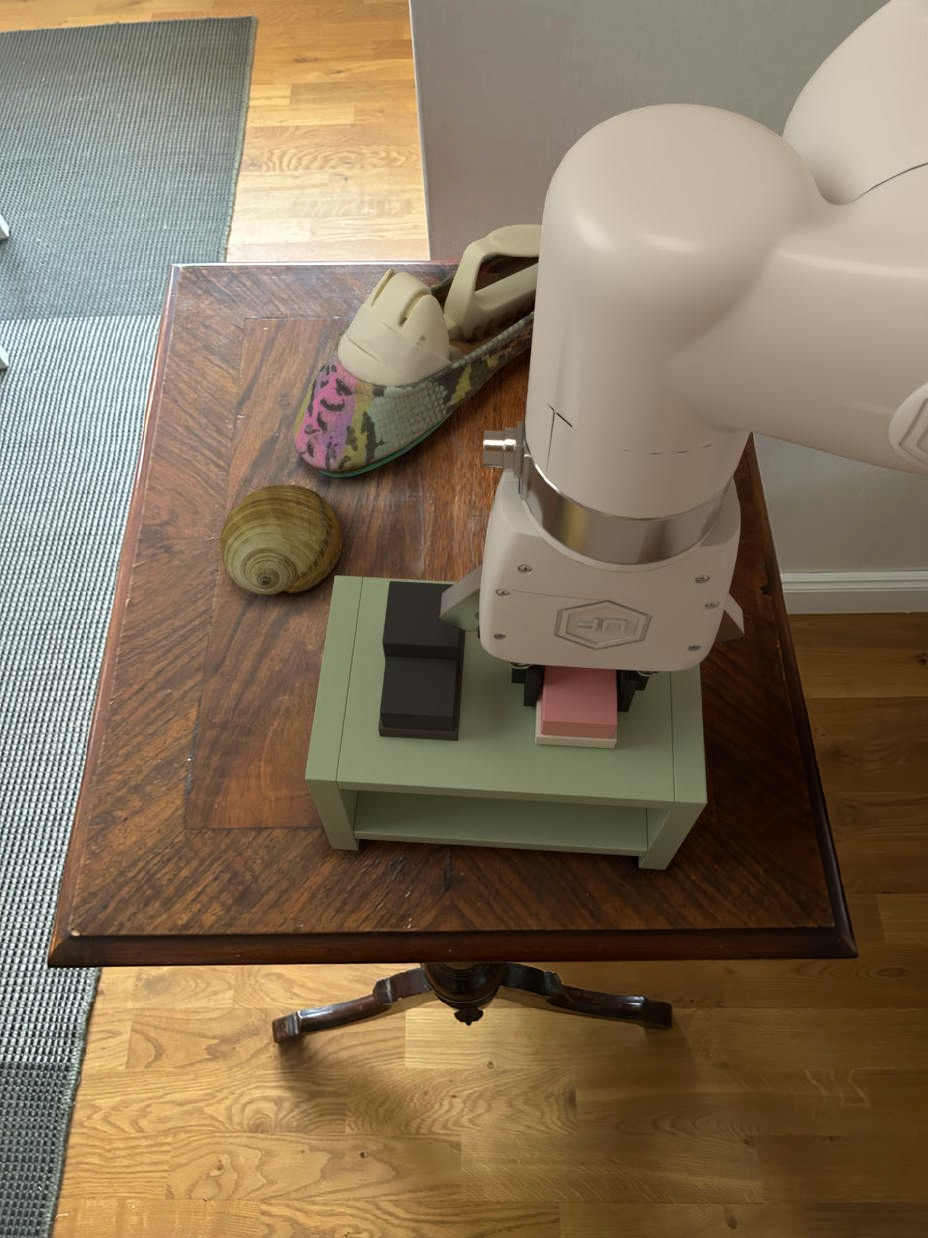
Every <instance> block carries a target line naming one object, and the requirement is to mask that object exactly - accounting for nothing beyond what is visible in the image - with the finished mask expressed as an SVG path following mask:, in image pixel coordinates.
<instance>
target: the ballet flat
mask: <svg viewBox="0 0 928 1238" xmlns="http://www.w3.org/2000/svg"><path fill="white" fill-rule="evenodd" d="M541 227H542V221H540V222H539V223H537V224H533V223H532V224H531V223H527V224H525V223H524V224H512V225H507V226H502V227H499V228H497V229H494V230H493V231H490V232H489V234H487V236H485V237H482V238H480V239H477V240H474V241H473V242H471V243H469V245H467V247H466V248H465V250H464V252H463V255H462V257H461V260H460V263H459V265H458V267H457V270H456V273H454V274H452V275H449V276H448V277H446V278H444V279H443V280H440V281H439V282H437V283H435V284H433V285H430V286H428V285H426V284H425V283H424V281H422V280H420V279H418V278H417V277H416V276H415V275H412V274H411V273H409V272H406V271H401V272H398V273H395V272H394V269H393V268H389V269H388V270H387V271H386V272H385V273H384V274H383V276H382V277H381V279H380V280H379V281H378V283H376V286H375V287H374V288H373V289H372V291H371V293H370V294H369V295H368V296H367V299H366V300H365V301H364V302H362V304H361V305H360V306H359V309H358V310H357V312H356V314H355V315H354V317H353V319H352V321H351V322H350V324H349V325H348V326H347V327H346V328H344V330H342V331H341V332H340V333H339V335H337V337H336V338H335V340H334V342H333V344H332V346H331V349H330V352H329V353H328V356H327V358H326V359H325V361H324V362H323V364H322V366H321V368H320V369H319V371H318V373H317V375H316V377H315V379H314V380H313V382H312V384H311V386H310V388H309V389H308V392H307V394H306V396H305V398H304V400H303V402H302V404H301V407H300V409H299V412H298V415H297V418H296V421H295V426H294V443H295V447H296V449H297V453H299V455H300V456H301V458H303V460H304V461H305V462H306V463H308V465H310V466H311V467H312V468H314V469H315V470H317V471H319V472H320V473H322V474H323V475H326V476H328V477H332V478H349V477H355V476H358V475H360V474H363V473H366V472H369V471H371V470H374V469H377V468H379V467H380V466H383V465H385V464H387V463H389V462H391V461H393V460H395V459H396V458H398V457H400V456H402V455H404V454H405V453H407V452H409V451H410V450H411V449H413V448H414V447H416V446H417V445H418V444H419V443H421V442H422V441H423V440H424V439H426V438H427V437H428V436H429V435H431V434H433V432H434V431H436V430H437V429H438V428H439V427H440V426H441V425H442V424H443V423H444V422H445V421H446V420H447V419H448V418H449V417H450V416H451V415H452V414H453V413H454V412H455V411H456V410H457V409H458V408H460V407H461V406H462V405H463V404H464V403H466V402H467V401H468V400H470V399H471V398H473V397H474V396H475V395H476V394H477V392H479V390H480V389H481V388H482V387H483V386H484V385H485V384H486V383H487V382H488V380H489V379H490V378H491V377H492V376H493V375H494V374H495V373H497V372H498V371H499V370H500V369H502V367H504V366H505V365H506V364H507V363H508V362H510V361H512V360H513V359H514V358H516V357H518V356H519V355H520V354H522V353H523V352H524V351H526V350H529V349H530V348H532V337H533V324H534V312H535V300H536V288H537V276H538V263H539V251H540V239H541Z"/></svg>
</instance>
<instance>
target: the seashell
mask: <svg viewBox="0 0 928 1238" xmlns="http://www.w3.org/2000/svg"><path fill="white" fill-rule="evenodd" d="M219 543H220V545H219V546H220V547H219V549H220V550H219V551H220V555H221V560H222V563H223V565H224V568H225V571H226V573H227V574H228V576H229V577H230V578H231V580H232V581H233V582H234V583H235V584H236V585H238V587H241V588H242V589H243V590H245V591H248V592H250V593H254V594H256V595H268V596H270V595H271V596H272V595H273V596H274V595H276V594H278V593H281V592H283V591H284V592H287V594H296V593H301V592H305V591H308V590H310V589H311V588H312V587H315V586H316V585H320V584H321V583H322V581H324V579H325V578H328V577H329V576H330V574H331V573H332V571H333V569H335V567H337V563H338V561H339V560H340V559H341V554H342V548H343V535H342V528H341V525H340V522H339V519H338V517H337V515H336V513H335V511H334V510H333V508H332V507H331V506H330V504H329V503H328V502H327V501H326V500H325V499H324V497H322V496H321V495H320V494H319V493H317V492H316V491H314V490H313V489H311V488H308V487H305V486H301V485H296V484H274V485H273V484H272V485H267V486H264V487H261V488H259V489H257V490H255V491H253V492H252V493H250V494H248V495H247V496H245V497H244V498H243V499H241V500H240V501H239V502H238V503H237V504H236V506H235V507H233V509H232V510H231V512H230V513H229V514H228V516H227V518H226V520H225V522H224V524H223V526H222V530H221V533H220V542H219Z"/></svg>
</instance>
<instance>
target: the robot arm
mask: <svg viewBox="0 0 928 1238" xmlns="http://www.w3.org/2000/svg"><path fill="white" fill-rule="evenodd" d="M541 222H542V227H541V239H540V251H539V263H538V276H537V288H536V300H535V312H534V324H533V337H532V347H531V351H530V362H529V372H528V383H527V395H526V401H525V413H524V421H521V420H520V421H519V420H516V423H515V424H516V425H515V427H508V426H507V427H504V430H490V429H489V430H488V429H484V430H483V442H482V445H483V446H482V468H493V469H502V475H501V477H500V479H499V482H498V485H497V488H496V491H495V495H494V497H493V501H492V504H491V509H490V513H489V517H488V522H487V528H486V535H485V539H484V547H483V555H482V563H480V565H478V566H477V567H475V568H474V569H473V570H472V571H470V572H468V573H467V574H466V575H465V576H463V577H462V578H460V579H459V580H458V581H455V582H456V583H455V584H454V585H452V586H451V587H450V588H448V589H447V590H446V591H444V592H443V593H442V594H441V601H440V613H439V619H440V620H441V621H442V622H444V623H447V624H449V625H452V626H455V627H457V628H460V629H463V630H465V631H468V632H471V631H475V632H478V638H479V639H480V640H481V644H482V646H483V648H484V649H485V650H486V651H487V652H488V653H490V654H491V655H493V656H495V657H497V658H500V659H503V660H506V661H508V665H509V666H510V667H512V678H511V683H518V684H524V706H530V707H533V706H534V704H537V700H538V698H539V692H540V686H541V680H542V670H543V665H553V666H568V667H584V668H601V669H618V671H617V711H618V712H628V711H629V708H630V705H631V702H632V699H633V696H634V693H635V691H636V690H637V691H644V690H645V687H646V685H647V682H648V679H649V677H651V676H656V675H659V674H660V673H661V672H662V671H677V670H684V669H688V668H691V667H694V666H696V665H697V664H700V663H702V662H703V661H704V660H705V659H706V658H707V656H708V655H709V653H710V651H711V650H712V647H713V645H717V644H721V643H726V642H730V641H731V642H732V641H736V640H739V639H742V638H744V637H745V623H744V612H743V609H742V607H741V606H740V605H739V603H738V602H737V601H736V600H735V598H734V597H733V596H732V595H731V593H730V589H731V586H732V581H733V576H734V572H735V567H736V562H737V557H738V552H739V551H738V549H739V543H740V536H741V523H742V521H741V520H742V519H741V517H742V515H741V514H742V513H741V505H740V500H739V497H738V493H737V492H738V491H737V486H736V481H735V478H734V475H735V472H736V470H737V468H738V466H739V463H740V461H741V458H742V455H743V452H744V450H745V447H746V445H747V442H748V440H749V437H750V435H751V433H753V434H757V435H761V436H765V437H769V438H773V439H775V440H780V441H784V442H787V443H790V444H795V445H798V446H801V447H805V448H808V449H812V450H816V451H819V452H823V453H827V454H830V455H834V456H837V457H840V458H844V459H848V460H851V461H856V462H859V463H863V464H866V465H870V466H875V467H879V468H883V469H887V470H891V471H897V472H901V473H909V474H913V475H914V474H916V475H920V476H921V475H922V476H928V0H889V1H888V2H887V3H885V4H884V5H883V6H882V7H880V8H879V9H878V10H876V11H875V12H874V13H873V14H871V16H869V17H868V18H867V19H865V20H864V21H863V22H862V23H861V24H860V25H858V27H857V28H855V29H854V31H852V32H851V33H850V34H849V35H848V36H847V37H846V38H845V39H844V40H843V41H842V42H841V43H840V44H839V45H838V46H837V47H836V48H835V49H834V50H833V51H832V52H831V53H830V54H829V55H828V56H827V57H826V58H825V59H824V60H823V62H822V63H821V64H820V66H819V67H818V68H817V69H816V71H815V72H814V73H813V74H812V76H811V77H810V79H809V80H808V81H807V82H806V84H805V85H804V87H803V88H802V90H801V91H800V93H799V94H798V96H797V98H796V100H795V102H794V104H793V106H792V109H791V110H790V113H789V114H788V116H787V118H786V120H785V125H784V127H783V132H782V136H780V135H779V134H778V133H776V132H775V131H773V130H771V129H770V128H769V127H767V126H765V125H764V124H762V123H760V122H759V121H756V120H754V119H752V118H750V117H748V116H746V115H742V114H740V113H738V112H734V111H731V110H728V109H726V108H725V109H724V108H720V107H716V106H710V105H705V104H696V103H695V104H694V103H662V104H653V105H647V106H643V107H639V108H635V109H630V110H628V111H624V112H622V113H619V114H617V115H615V116H612V117H610V118H608V119H606V120H604V121H602V122H600V123H598V124H596V125H594V127H592V128H591V129H589V130H588V131H587V132H586V133H584V134H583V135H582V136H581V137H580V138H579V139H578V140H577V141H575V143H574V144H573V145H572V146H571V147H570V148H569V149H568V150H567V152H566V153H565V155H564V156H563V158H562V160H561V161H560V163H559V164H558V167H556V170H555V172H554V173H553V175H552V177H551V181H550V183H549V185H548V189H547V192H546V195H545V200H544V206H543V213H542V220H541Z"/></svg>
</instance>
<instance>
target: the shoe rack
mask: <svg viewBox="0 0 928 1238" xmlns="http://www.w3.org/2000/svg"><path fill="white" fill-rule="evenodd" d="M390 581H401V582H420V583H438V584H455V583H456V582H457V581H449V580H448V581H447V580H446V581H445V580H428V579H411V578H410V579H408V578H393V577H392V578H390V577H371V576H355V575H335V576H334V579H333V585H332V591H331V592H332V593H331V599H330V604H329V605H330V606H329V612H328V619H327V626H326V634H325V639H324V646H323V653H322V660H321V666H320V673H319V681H318V687H317V694H316V699H315V700H316V701H315V706H314V712H313V721H312V726H311V732H310V734H311V735H310V739H309V740H310V741H309V748H308V754H307V760H306V767H305V774H304V780H305V783H306V785H307V788H308V790H309V793H310V795H311V798H312V801H313V802H314V805H315V807H316V811H317V814H318V816H319V819H320V821H321V823H322V826H323V828H324V829H323V830H324V832H325V833H326V836H327V838H328V841H329V843H330V846H331V848H332V850H344V851H359V848H360V840H372V841H373V840H375V841H392V842H405V843H406V842H407V843H422V844H424V843H425V844H439V845H456V846H469V847H470V846H471V847H472V846H473V847H488V848H502V849H517V850H518V849H519V850H537V851H549V852H550V851H551V852H552V851H553V852H566V853H583V854H598V855H599V854H600V855H617V856H629V857H631V856H632V857H638V869H647V870H650V869H651V870H664V871H665V870H666V869H667V867H668V866H669V865H670V863H671V861H672V860H673V858H674V857H675V855H676V853H677V852H678V850H679V849H680V847H681V846H682V844H683V842H684V841H685V839H686V837H687V836H688V834H689V833H690V831H691V829H692V828H693V826H694V825H695V823H696V821H698V819H699V817H700V815H701V814H702V812H703V811H704V809H705V807H706V806H707V804H708V791H707V775H706V774H707V772H706V759H705V758H706V754H705V753H706V752H705V738H704V737H705V736H704V721H703V720H704V719H703V701H702V685H701V683H702V682H701V667H700V666H701V665H700V663H699V664H697V665H696V666H694V667H691V668H688V669H684V670H677V671H662V672H661V673H660V674H659V675H656V676H651V677H649V679H648V682H647V685H646V687H645V690H644V691H637V690H636V691H635V693H634V696H633V699H632V702H631V705H630V708H629V711H628V712H618V711H617V741H616V744H615V747H614V748H597V747H580V746H564V745H547V744H536V743H535V729H536V704H534V706H533V707H530V706H524V684H518V683H511V678H512V667H510V666H509V665H508V661H506V660H503V659H500V658H497V657H495V656H493V655H491V654H490V653H488V652H487V651H486V650H485V649H484V648H483V646H482V644H481V640H480V639H479V638H478V632H475V631H471V632H468V631H466V633H465V647H464V661H463V675H462V688H461V702H460V716H459V730H458V740H457V741H451V740H434V739H417V738H401V737H384V736H380V735H379V730H378V725H379V717H380V705H381V696H382V687H383V679H384V670H385V657H384V650H383V644H382V640H383V631H384V623H385V614H386V606H387V597H388V589H389V582H390Z"/></svg>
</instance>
